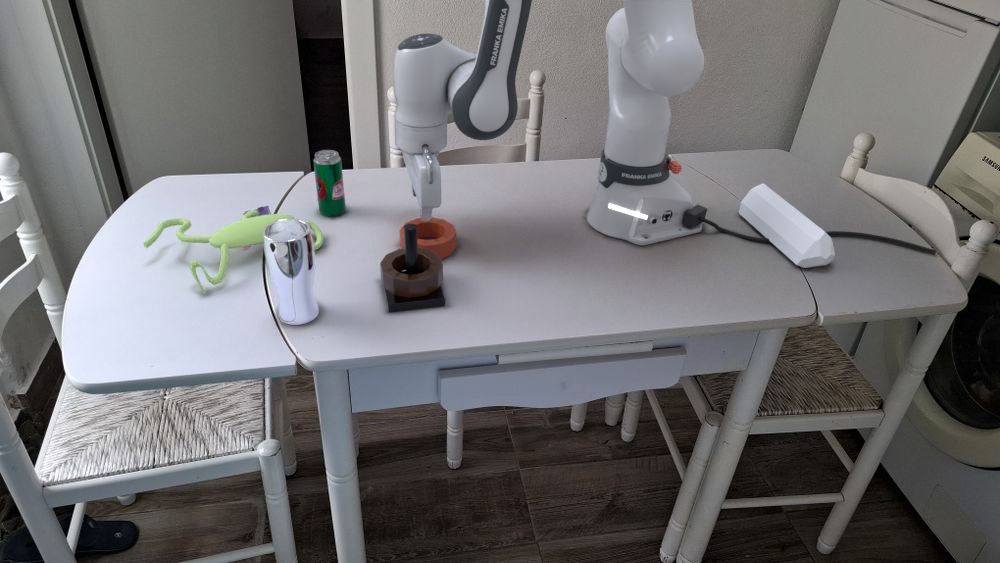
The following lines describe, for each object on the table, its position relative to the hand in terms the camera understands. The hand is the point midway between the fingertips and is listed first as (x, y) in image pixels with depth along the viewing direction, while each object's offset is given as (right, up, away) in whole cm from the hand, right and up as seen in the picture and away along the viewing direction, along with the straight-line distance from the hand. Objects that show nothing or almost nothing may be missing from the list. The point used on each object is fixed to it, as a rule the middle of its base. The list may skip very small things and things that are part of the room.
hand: (421, 206), depth 124 cm
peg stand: (0, -15, -12) cm, 19 cm away
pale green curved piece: (-32, -9, -4) cm, 33 cm away
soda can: (-18, 0, +9) cm, 21 cm away
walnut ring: (0, -13, -12) cm, 18 cm away
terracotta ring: (+1, -7, 0) cm, 7 cm away
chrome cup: (-17, -19, -18) cm, 31 cm away
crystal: (+69, -6, +8) cm, 69 cm away
